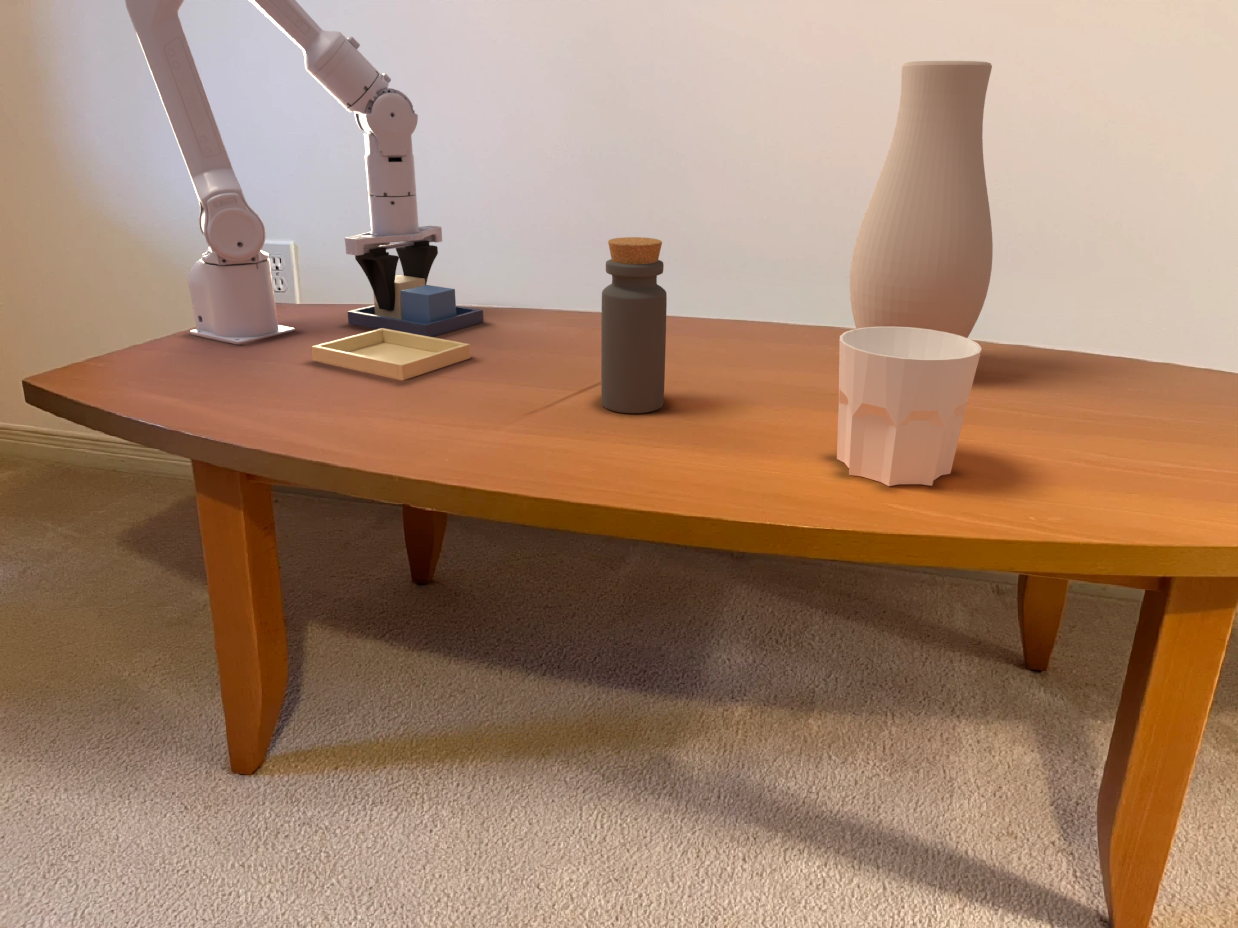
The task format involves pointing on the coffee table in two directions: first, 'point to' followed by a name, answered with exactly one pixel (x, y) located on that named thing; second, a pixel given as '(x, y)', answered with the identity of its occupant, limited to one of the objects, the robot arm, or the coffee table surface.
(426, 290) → the blue block
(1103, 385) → the coffee table surface
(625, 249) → the bottle
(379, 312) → the cream block
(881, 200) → the vase
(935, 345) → the cup
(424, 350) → the cream tray
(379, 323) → the blue tray
